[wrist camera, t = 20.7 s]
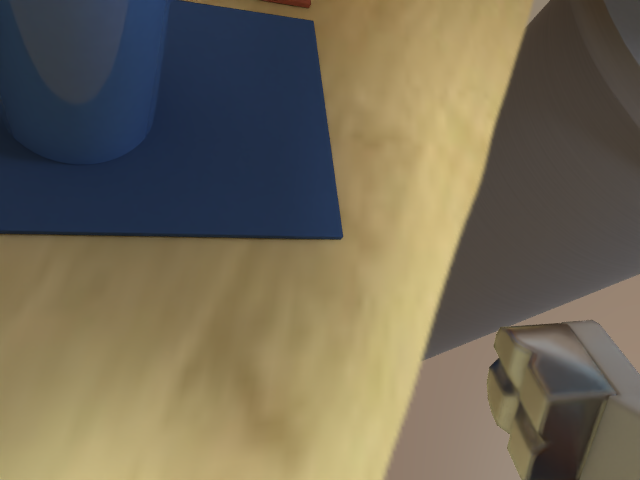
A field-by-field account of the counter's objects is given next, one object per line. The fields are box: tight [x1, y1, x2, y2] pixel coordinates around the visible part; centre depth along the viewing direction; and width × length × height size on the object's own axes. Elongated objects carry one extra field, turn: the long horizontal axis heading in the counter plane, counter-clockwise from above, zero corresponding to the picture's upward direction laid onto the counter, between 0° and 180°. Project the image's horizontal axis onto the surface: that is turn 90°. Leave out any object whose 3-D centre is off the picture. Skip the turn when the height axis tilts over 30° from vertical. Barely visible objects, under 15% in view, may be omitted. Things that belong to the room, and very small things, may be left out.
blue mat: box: [0, 0, 343, 239], centre depth 22 cm, size 20×11×1 cm, turn 97°
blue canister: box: [0, 0, 172, 165], centre depth 18 cm, size 6×6×10 cm
